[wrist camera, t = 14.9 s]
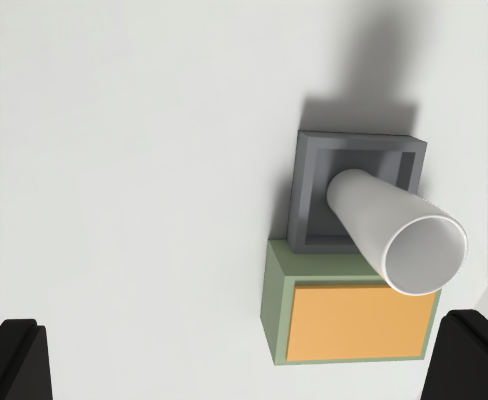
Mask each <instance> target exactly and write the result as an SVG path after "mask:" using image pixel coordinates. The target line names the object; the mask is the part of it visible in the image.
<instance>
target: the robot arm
mask: <svg viewBox="0 0 488 400" xmlns="http://www.w3.org/2000/svg"><path fill="white" fill-rule="evenodd" d="M0 400H53V397H52V386H51V376H50V366H49V356H48V346H47V335H46V328H45V326H37V322H36V320H35V319H7V320H4V322H3V323H2V324H1V326H0ZM420 400H488V320H487V319H486V318H485V317H484V316H483V315H481V314H480V313H479V312H478V311H476V310H472V309H468V310H451V311H449V312H448V313H447V315H446V316H444V317H443V318H442V320H441V322H440V326H439V330H438V334H437V338H436V342H435V345H434V349H433V353H432V357H431V361H430V364H429V368H428V372H427V376H426V380H425V384H424V387H423V391H422V396H421V399H420Z"/></svg>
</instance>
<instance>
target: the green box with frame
mask: <svg viewBox="0 0 488 400" xmlns="http://www.w3.org/2000/svg"><path fill="white" fill-rule="evenodd" d="M426 147H427V142H425V141H422V140H419V139H417V138H414V137H411V136H405V135H384V134H364V133H343V132H322V131H302V130H298V138H297V147H296V156H295V165H294V173H293V182H292V191H291V200H290V209H289V217H288V226H287V235H286V239H268V245H267V256H266V266H265V276H264V286H263V296H262V306H261V316H260V318H261V322H262V325H263V328H264V332H265V335H266V339H267V342H268V345H269V349H270V352H271V356H272V359H273V362H274V366H276V365H302V364H327V363H352V362H378V361H403V360H424V357H425V353H426V349H427V345H428V341H429V337H430V333H431V329H432V325H433V321H434V318H435V314H436V310H437V306H438V302H439V298H440V294H441V290H442V288H441V289H439V290H437V291H435V292H433V293H430V294H426V295H420V296H411V295H405V294H402V293H400V292H398V291H396V290H394V289H393V288H392V287H391V286H390V285H389V284H388V283H387V282H386V281H385V280H384V279H383V278H382V277H381V276H380V275H379V274H378V273H377V272H376V271H375V270H374V269H373V268H372V267H371V265H370V264H369V263H368V262H367V260H366V259H365V258H364V256H363V255H362V254H361V252H360V251H359V249H358V248H357V246H356V244H355V243H354V241H353V240H352V238H351V237H350V235H349V234H348V232H347V231H346V229H345V227H344V226H343V224H342V223H341V221H340V220H339V218H338V217H337V216H336V214H335V213H334V212H333V211H332V210H331V208H330V207H329V205H328V202H327V189H328V186H329V184H330V182H331V181H332V179H333V178H334V177H335V176H336V175H337V174H339V173H340V172H342V171H344V170H347V169H353V168H355V169H361V170H364V171H366V172H368V173H369V174H371V175H372V176H375V177H377V178H379V179H381V180H383V181H385V182H388V183H390V184H392V185H394V186H397V187H399V188H401V189H404V190H406V191H408V192H410V193H413V194H415V195H416V194H417V189H418V184H419V180H420V175H421V171H422V166H423V161H424V157H425V152H426Z"/></svg>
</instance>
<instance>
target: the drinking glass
mask: <svg viewBox="0 0 488 400" xmlns="http://www.w3.org/2000/svg"><path fill="white" fill-rule="evenodd" d="M327 202H328V205H329V207H330V208H331V210H332V211H333V212H334V213H335V214H336V216H337V217H338V218H339V220H340V221H341V223H342V224H343V226H344V227H345V229H346V231H347V232H348V234H349V235H350V237H351V238H352V240H353V241H354V243H355V244H356V246H357V248H358V249H359V251H360V252H361V254H362V255H363V256H364V258H365V259H366V260H367V262H368V263H369V264H370V265H371V267H372V268H373V269H374V270H375V271H376V272H377V273H378V274H379V275H380V276H381V277H382V278H383V279H384V280H385V281H386V282H387V283H388V284H389V285H390V286H391V287H392V288H393V289H394V290H396V291H398V292H400V293H402V294H405V295H411V296H420V295H426V294H430V293H433V292H435V291H437V290H439V289H441V288H443V287H444V286H446V285H447V284H448V283H450V282H451V281H452V280H453V279H454V278H455V277H456V276H457V274H458V273H459V272H460V270H461V268H462V267H463V265H464V262H465V260H466V257H467V252H468V240H467V236H466V233H465V231H464V229H463V227H462V226H461V225H460V224H459V223H458V222H457V221H456V220H455V219H453V218H452V217H451V216H449V215H448V214H447V213H445V212H444V211H442V210H441V209H439V208H438V207H436V206H435V205H433V204H432V203H430V202H428V201H426V200H425V199H423V198H421V197H419V196H417V195H415V194H413V193H410V192H408V191H406V190H404V189H401V188H399V187H397V186H394V185H392V184H390V183H388V182H385V181H383V180H381V179H379V178H377V177H375V176H372V175H371V174H369V173H368V172H366V171H364V170H361V169H355V168H353V169H347V170H344V171H342V172H340V173H339V174H337V175H336V176H335V177H334V178H333V179H332V181H331V182H330V184H329V186H328V189H327Z"/></svg>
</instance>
